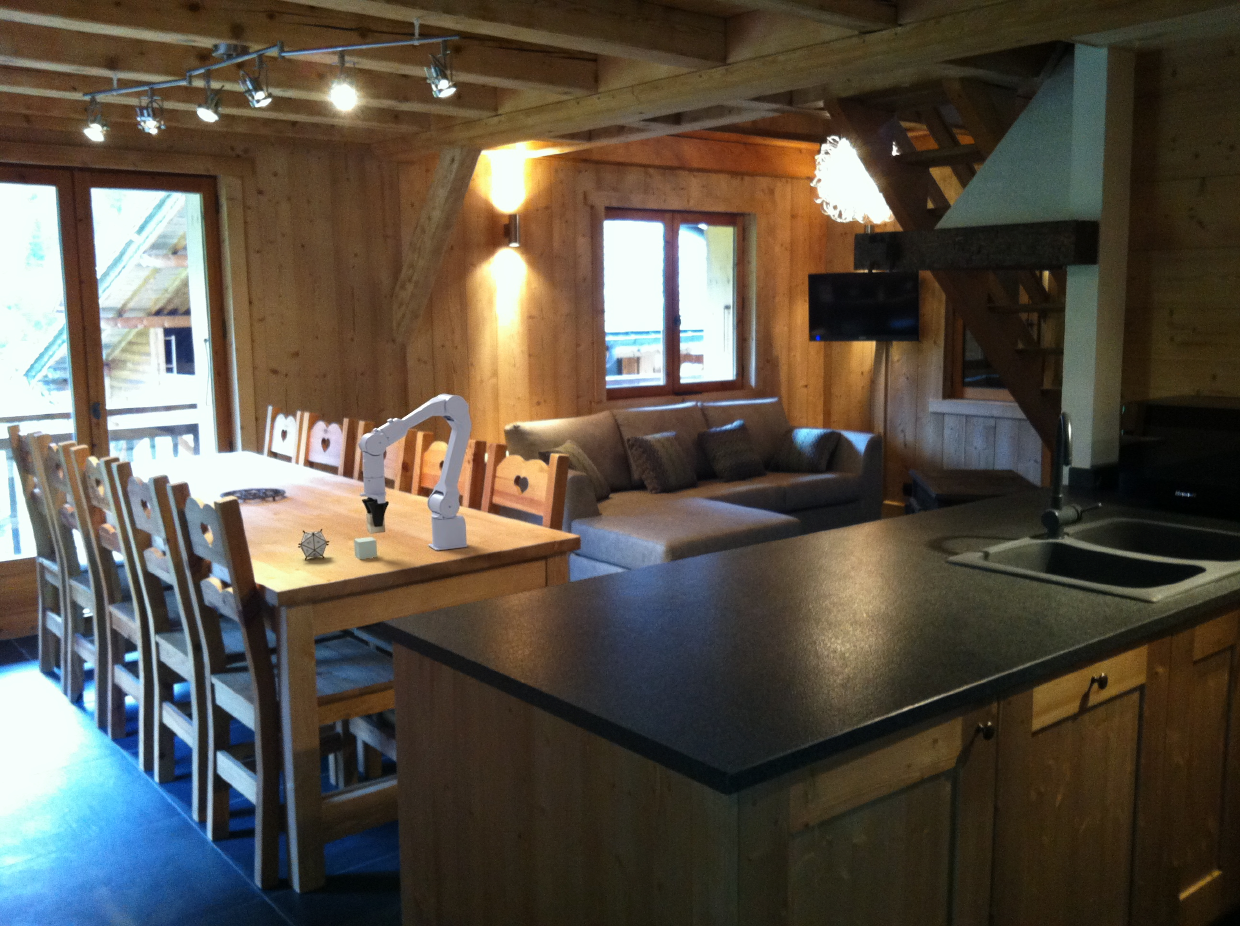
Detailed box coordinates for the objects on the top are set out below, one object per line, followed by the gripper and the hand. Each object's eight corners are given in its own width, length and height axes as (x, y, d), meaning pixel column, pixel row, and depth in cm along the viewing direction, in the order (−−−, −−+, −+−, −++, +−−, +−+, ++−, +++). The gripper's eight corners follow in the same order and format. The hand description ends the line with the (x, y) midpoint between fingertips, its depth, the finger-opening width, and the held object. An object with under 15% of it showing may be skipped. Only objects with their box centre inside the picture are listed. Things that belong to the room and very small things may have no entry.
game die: (318, 572, 302) (318, 548, 295) (291, 561, 303) (290, 537, 296) (335, 551, 308) (335, 527, 301) (309, 539, 309) (308, 516, 303)
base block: (372, 554, 307) (371, 536, 306) (377, 557, 302) (376, 540, 301) (355, 556, 304) (354, 539, 304) (359, 560, 300) (358, 542, 299)
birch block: (381, 529, 304) (380, 512, 304) (385, 532, 301) (384, 514, 300) (367, 531, 303) (366, 513, 302) (371, 533, 299) (369, 516, 298)
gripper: (353, 474, 304) (355, 522, 306) (366, 481, 291) (368, 531, 293) (378, 472, 307) (380, 519, 309) (392, 479, 295) (394, 528, 296)
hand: (376, 525), depth 301 cm, fingers closed on birch block, 4 cm apart
